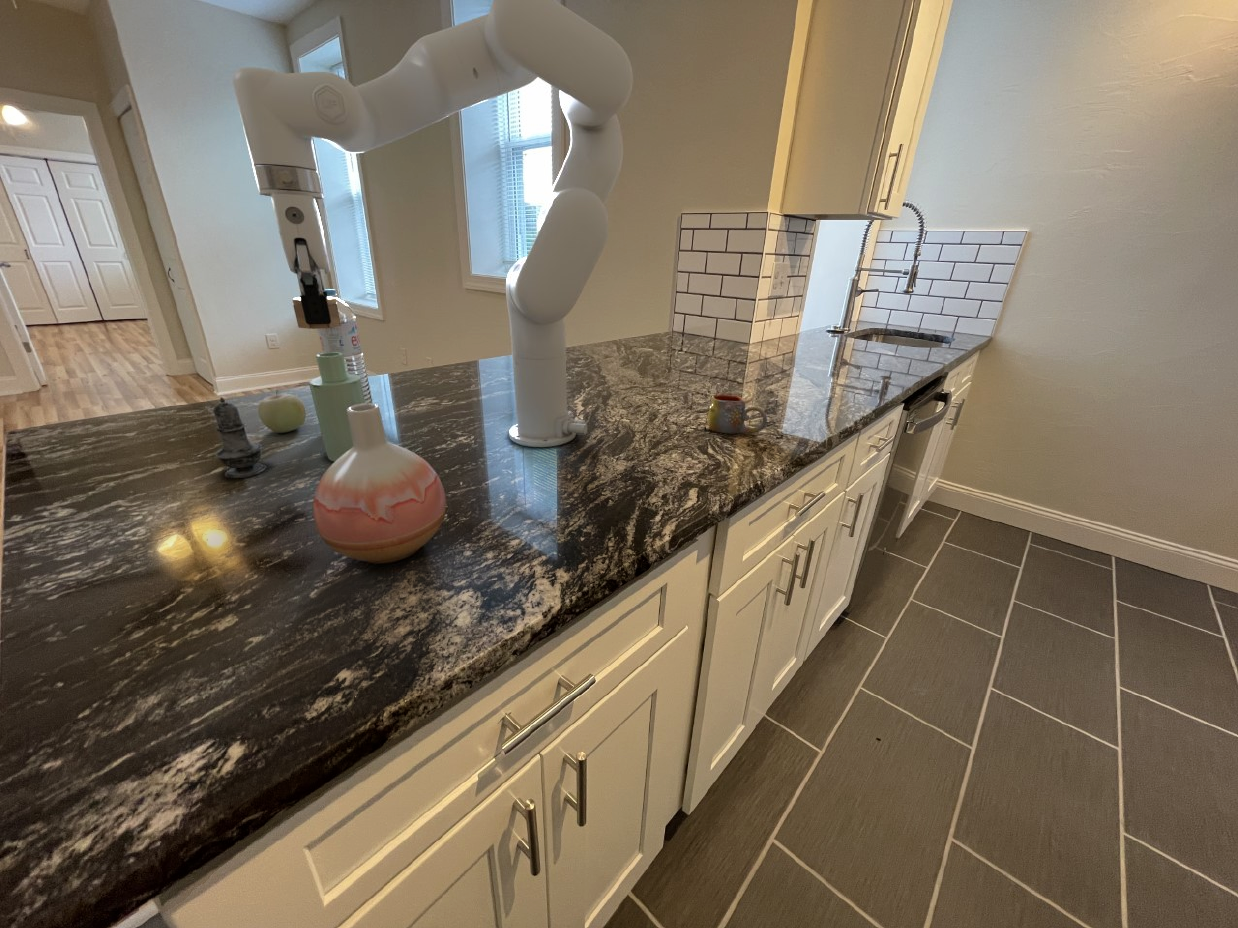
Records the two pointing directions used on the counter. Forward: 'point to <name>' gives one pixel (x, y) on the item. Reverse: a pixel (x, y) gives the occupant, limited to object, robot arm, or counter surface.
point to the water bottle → (346, 343)
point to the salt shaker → (236, 443)
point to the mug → (731, 415)
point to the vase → (377, 496)
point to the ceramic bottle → (335, 402)
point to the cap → (302, 324)
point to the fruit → (282, 412)
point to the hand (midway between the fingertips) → (319, 319)
